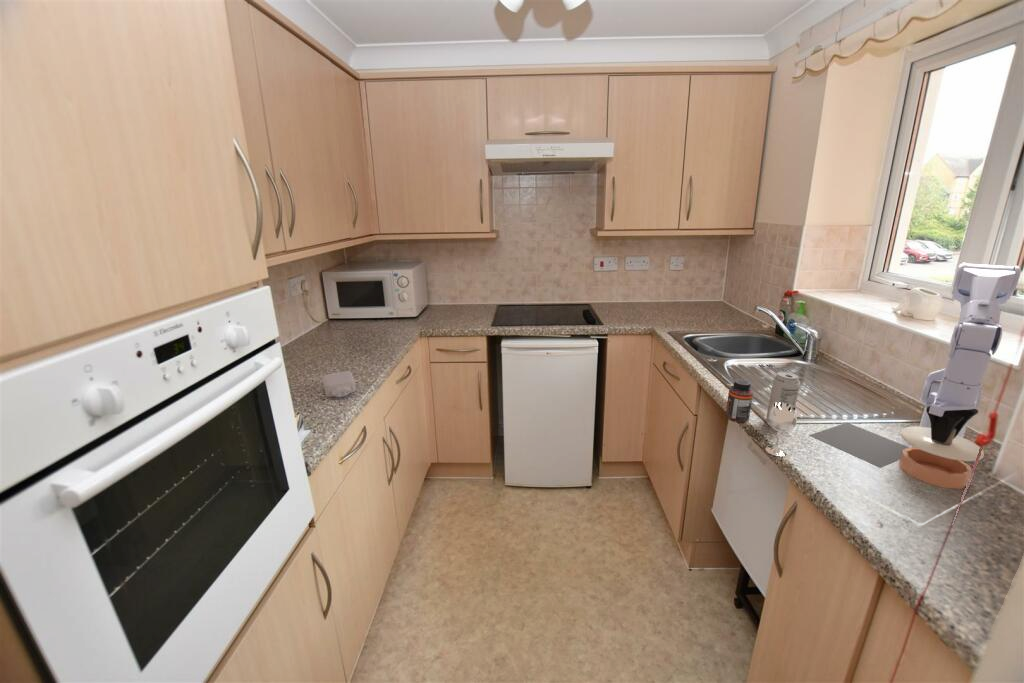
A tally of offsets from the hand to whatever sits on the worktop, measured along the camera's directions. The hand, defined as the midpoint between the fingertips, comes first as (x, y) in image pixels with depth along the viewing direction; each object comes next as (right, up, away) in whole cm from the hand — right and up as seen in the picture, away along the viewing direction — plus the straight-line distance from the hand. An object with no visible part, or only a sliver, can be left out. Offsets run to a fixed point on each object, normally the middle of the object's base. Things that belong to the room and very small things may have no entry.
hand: (942, 438), depth 94 cm
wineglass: (-29, -6, +12) cm, 32 cm away
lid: (0, -1, +1) cm, 1 cm away
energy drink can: (-21, -2, +24) cm, 32 cm away
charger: (-149, +4, +49) cm, 156 cm away
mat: (-6, -5, +15) cm, 17 cm away
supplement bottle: (-30, -1, +29) cm, 41 cm away
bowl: (0, -8, +3) cm, 9 cm away
